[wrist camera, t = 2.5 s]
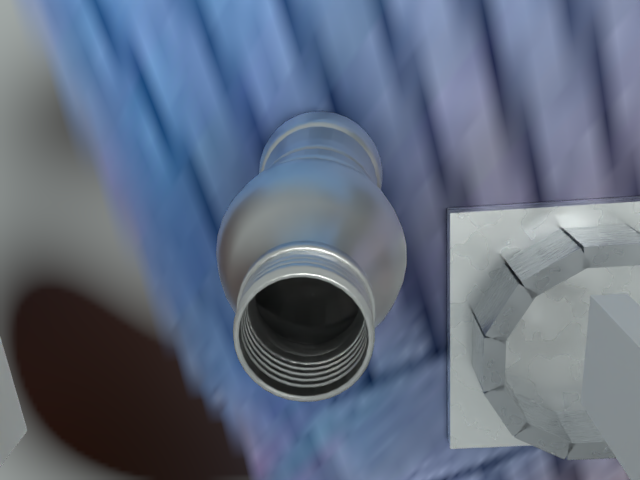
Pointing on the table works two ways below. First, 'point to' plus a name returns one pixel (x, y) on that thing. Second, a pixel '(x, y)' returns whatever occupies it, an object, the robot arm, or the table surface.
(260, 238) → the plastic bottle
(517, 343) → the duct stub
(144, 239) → the table surface
